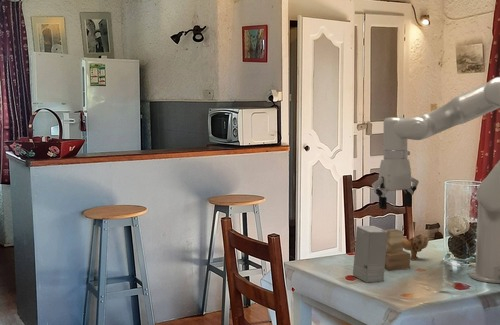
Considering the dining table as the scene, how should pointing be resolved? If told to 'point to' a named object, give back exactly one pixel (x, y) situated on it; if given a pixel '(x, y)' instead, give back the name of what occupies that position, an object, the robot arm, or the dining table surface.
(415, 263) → the dining table surface
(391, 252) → the oak block
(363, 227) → the skincare box
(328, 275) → the dining table surface
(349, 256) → the dining table surface
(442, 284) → the dining table surface
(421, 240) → the lion figurine
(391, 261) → the walnut block
